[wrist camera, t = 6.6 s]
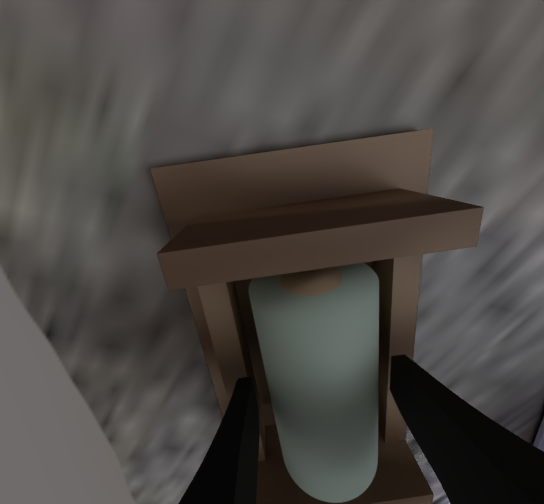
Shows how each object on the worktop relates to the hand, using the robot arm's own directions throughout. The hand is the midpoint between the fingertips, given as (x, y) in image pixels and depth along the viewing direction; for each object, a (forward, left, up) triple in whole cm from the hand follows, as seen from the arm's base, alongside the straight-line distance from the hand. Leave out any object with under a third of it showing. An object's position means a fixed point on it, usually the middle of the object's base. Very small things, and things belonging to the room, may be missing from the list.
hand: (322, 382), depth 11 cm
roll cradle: (0, 0, -4) cm, 4 cm away
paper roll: (0, 0, 0) cm, 0 cm away
